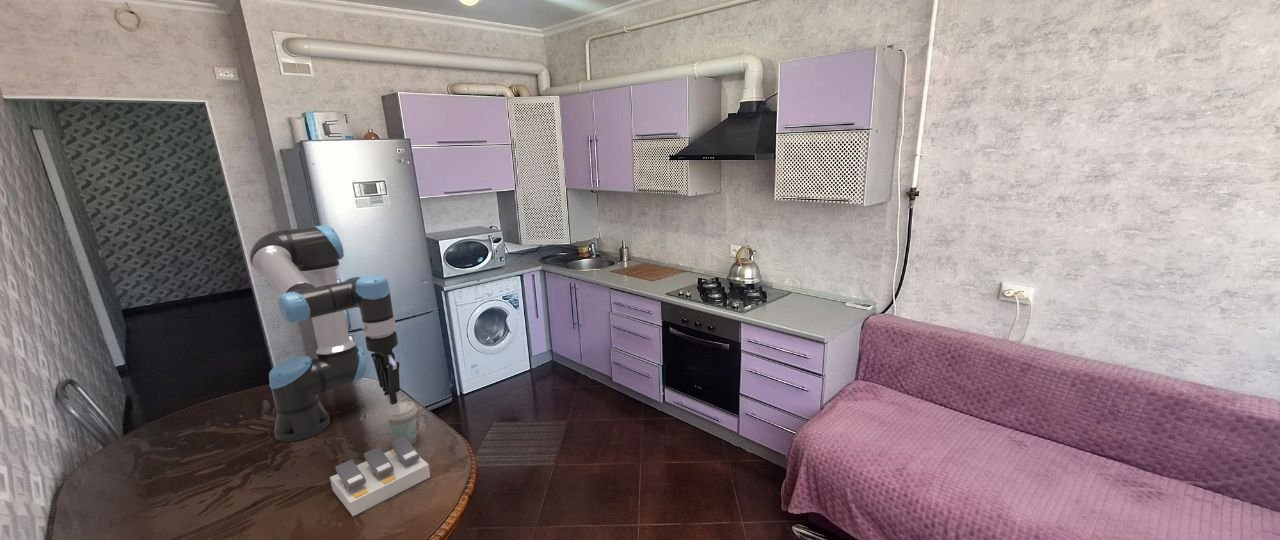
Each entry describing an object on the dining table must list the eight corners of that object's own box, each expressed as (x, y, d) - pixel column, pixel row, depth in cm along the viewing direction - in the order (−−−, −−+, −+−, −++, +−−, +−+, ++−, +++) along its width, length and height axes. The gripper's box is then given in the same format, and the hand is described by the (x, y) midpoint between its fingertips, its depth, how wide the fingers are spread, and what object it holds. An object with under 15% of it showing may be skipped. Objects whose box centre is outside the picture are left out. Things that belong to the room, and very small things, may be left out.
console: (332, 490, 136) (328, 472, 135) (406, 455, 150) (404, 438, 149) (352, 516, 126) (349, 497, 125) (430, 476, 141) (427, 459, 139)
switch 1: (336, 471, 133) (335, 466, 133) (352, 464, 136) (351, 458, 135) (349, 491, 128) (348, 485, 127) (366, 483, 131) (365, 477, 130)
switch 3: (390, 446, 143) (390, 441, 142) (404, 439, 146) (404, 435, 145) (404, 465, 138) (404, 461, 137) (419, 458, 141) (419, 454, 140)
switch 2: (364, 457, 138) (363, 452, 137) (379, 450, 141) (379, 446, 140) (378, 478, 133) (377, 473, 132) (393, 471, 136) (393, 466, 135)
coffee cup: (410, 451, 152) (404, 416, 149) (385, 449, 154) (379, 413, 151) (427, 435, 160) (422, 401, 157) (403, 433, 162) (397, 399, 159)
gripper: (356, 332, 137) (370, 410, 143) (375, 343, 128) (389, 426, 134) (385, 324, 142) (397, 400, 148) (405, 335, 134) (417, 415, 139)
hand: (394, 412), depth 141 cm, fingers closed
